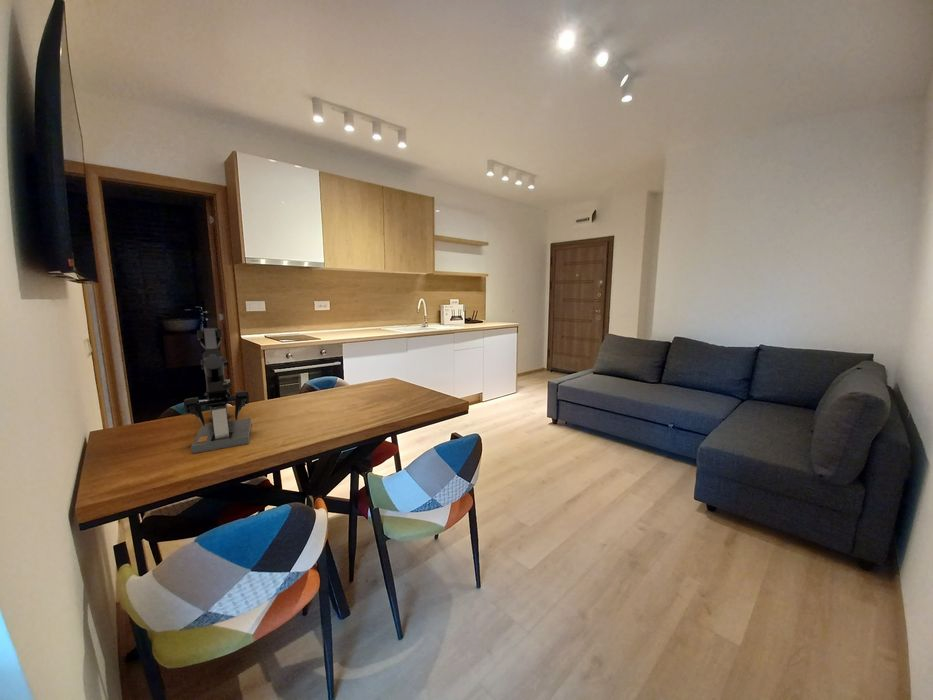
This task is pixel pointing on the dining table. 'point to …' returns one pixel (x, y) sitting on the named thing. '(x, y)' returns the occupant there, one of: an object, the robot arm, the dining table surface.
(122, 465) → the dining table surface
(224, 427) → the steel peg
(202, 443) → the flange plate
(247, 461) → the dining table surface
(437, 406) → the dining table surface
